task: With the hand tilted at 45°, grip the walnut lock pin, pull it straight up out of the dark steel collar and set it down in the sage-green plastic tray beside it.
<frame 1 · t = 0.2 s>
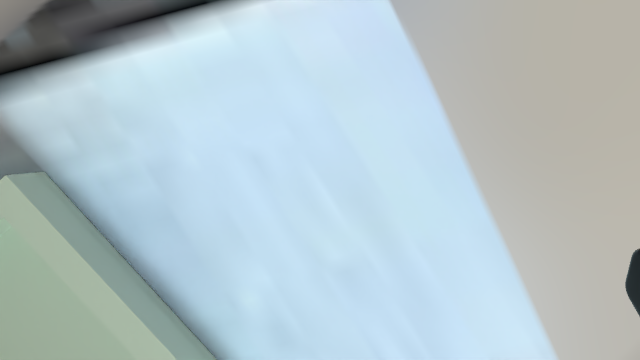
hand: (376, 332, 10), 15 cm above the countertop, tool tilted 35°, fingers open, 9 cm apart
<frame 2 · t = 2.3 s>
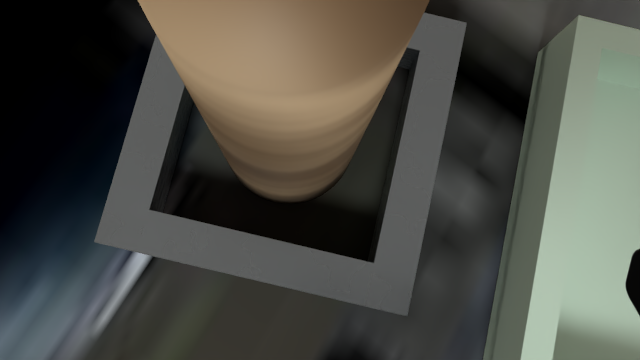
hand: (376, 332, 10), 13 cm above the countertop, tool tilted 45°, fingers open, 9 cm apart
steel collar: (289, 140, 23), on the countertop
lock pin: (287, 82, 16), in the steel collar
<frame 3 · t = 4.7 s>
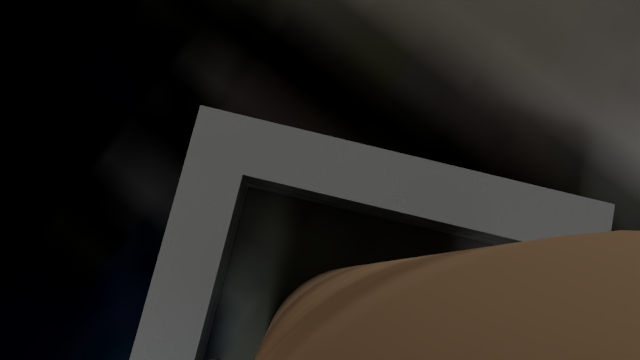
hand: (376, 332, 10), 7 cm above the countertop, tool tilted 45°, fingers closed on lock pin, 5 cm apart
steel collar: (353, 359, 16), on the countertop
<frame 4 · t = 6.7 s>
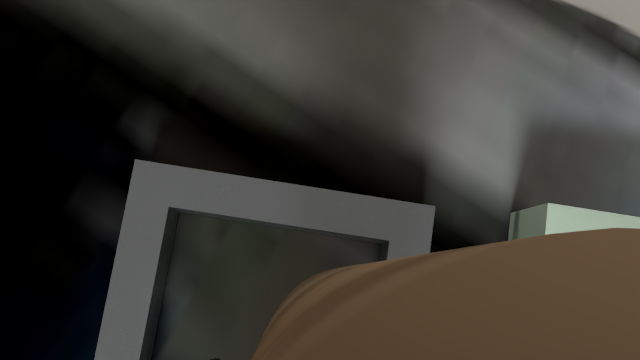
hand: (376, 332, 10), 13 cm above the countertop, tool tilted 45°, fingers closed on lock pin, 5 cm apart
steel collar: (263, 331, 23), on the countertop
when the fingers open (9 cm above the countertop, at t = 9.0 s): lock pin drops 1 cm, resting on tray.
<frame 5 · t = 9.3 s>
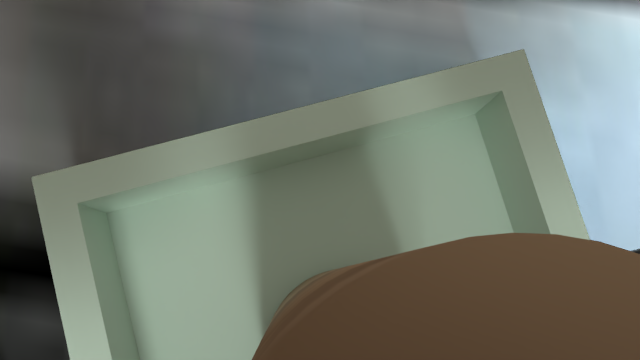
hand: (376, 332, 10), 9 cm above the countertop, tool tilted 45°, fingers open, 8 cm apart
tray: (346, 347, 19), on the countertop
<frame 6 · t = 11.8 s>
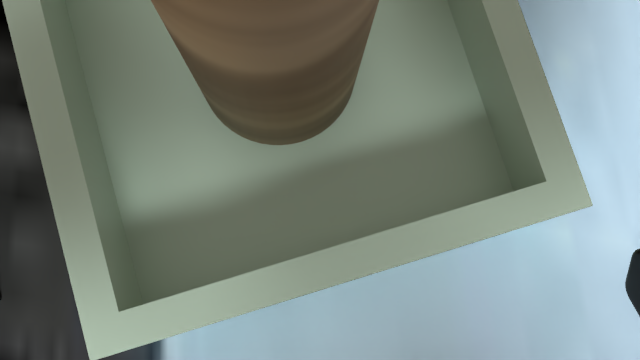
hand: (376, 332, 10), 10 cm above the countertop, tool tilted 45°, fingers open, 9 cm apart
tray: (279, 78, 20), on the countertop
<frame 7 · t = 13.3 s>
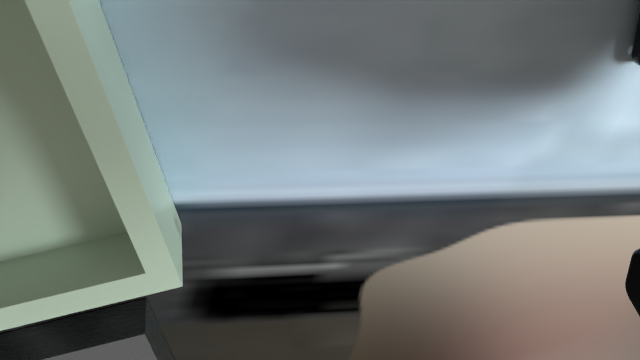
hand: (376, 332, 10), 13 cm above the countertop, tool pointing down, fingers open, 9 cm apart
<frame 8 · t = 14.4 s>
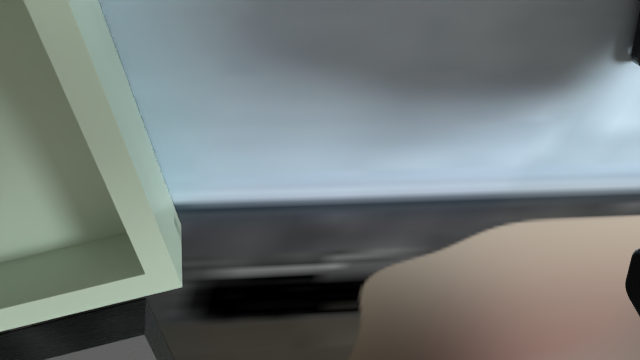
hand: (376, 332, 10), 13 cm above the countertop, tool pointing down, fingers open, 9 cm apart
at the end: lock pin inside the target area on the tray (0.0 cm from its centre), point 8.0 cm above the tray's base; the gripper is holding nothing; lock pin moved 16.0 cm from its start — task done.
